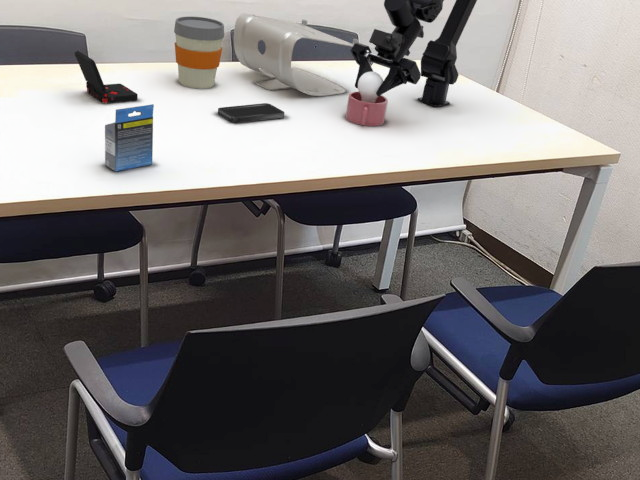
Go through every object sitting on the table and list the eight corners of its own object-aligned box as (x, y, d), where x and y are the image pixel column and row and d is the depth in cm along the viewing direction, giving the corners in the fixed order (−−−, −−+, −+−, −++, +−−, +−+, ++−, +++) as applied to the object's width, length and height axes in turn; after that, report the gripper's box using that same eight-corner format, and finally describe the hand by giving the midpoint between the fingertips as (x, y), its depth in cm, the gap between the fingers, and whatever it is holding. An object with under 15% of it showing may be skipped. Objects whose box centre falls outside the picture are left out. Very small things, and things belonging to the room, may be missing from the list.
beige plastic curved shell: (228, 73, 238) (232, 13, 229) (294, 66, 252) (300, 9, 243) (288, 101, 223) (295, 38, 214) (355, 92, 236) (364, 32, 228)
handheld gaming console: (138, 100, 209) (139, 58, 203) (92, 105, 202) (91, 61, 197) (120, 89, 215) (120, 47, 209) (74, 93, 208) (73, 49, 203)
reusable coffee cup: (230, 85, 229) (234, 25, 220) (200, 93, 219) (204, 31, 211) (192, 73, 234) (195, 14, 225) (161, 81, 224) (164, 19, 216)
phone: (216, 108, 207) (268, 102, 215) (215, 112, 208) (267, 107, 216) (234, 118, 202) (286, 112, 210) (233, 123, 203) (286, 117, 211)
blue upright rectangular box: (141, 158, 178) (143, 98, 172) (153, 165, 176) (154, 104, 169) (104, 165, 173) (104, 103, 166) (115, 172, 171) (115, 109, 164)
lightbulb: (370, 123, 214) (377, 77, 208) (348, 116, 217) (354, 71, 210) (383, 117, 218) (390, 72, 212) (361, 110, 221) (368, 66, 215)
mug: (347, 110, 222) (350, 89, 219) (385, 117, 221) (389, 95, 218) (342, 125, 212) (345, 103, 209) (382, 132, 211) (386, 109, 208)
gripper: (361, 7, 212) (325, 59, 211) (423, 26, 202) (386, 80, 201) (375, 38, 221) (341, 88, 220) (435, 57, 212) (400, 109, 211)
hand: (366, 91), depth 213 cm, fingers closed on lightbulb, 6 cm apart
